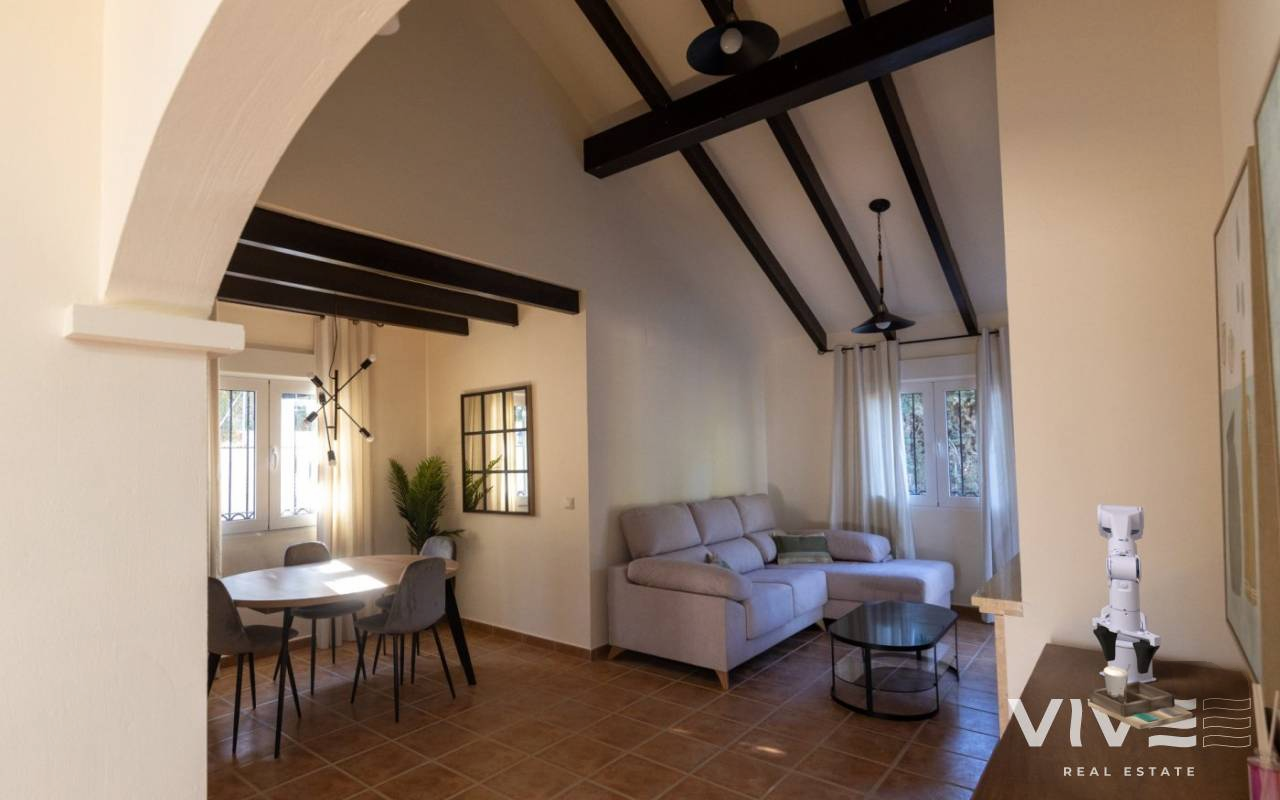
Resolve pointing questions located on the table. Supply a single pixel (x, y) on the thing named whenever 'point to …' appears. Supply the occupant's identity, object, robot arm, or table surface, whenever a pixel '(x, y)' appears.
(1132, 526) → the robot arm
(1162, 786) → the table surface
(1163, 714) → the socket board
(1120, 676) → the milkshake
